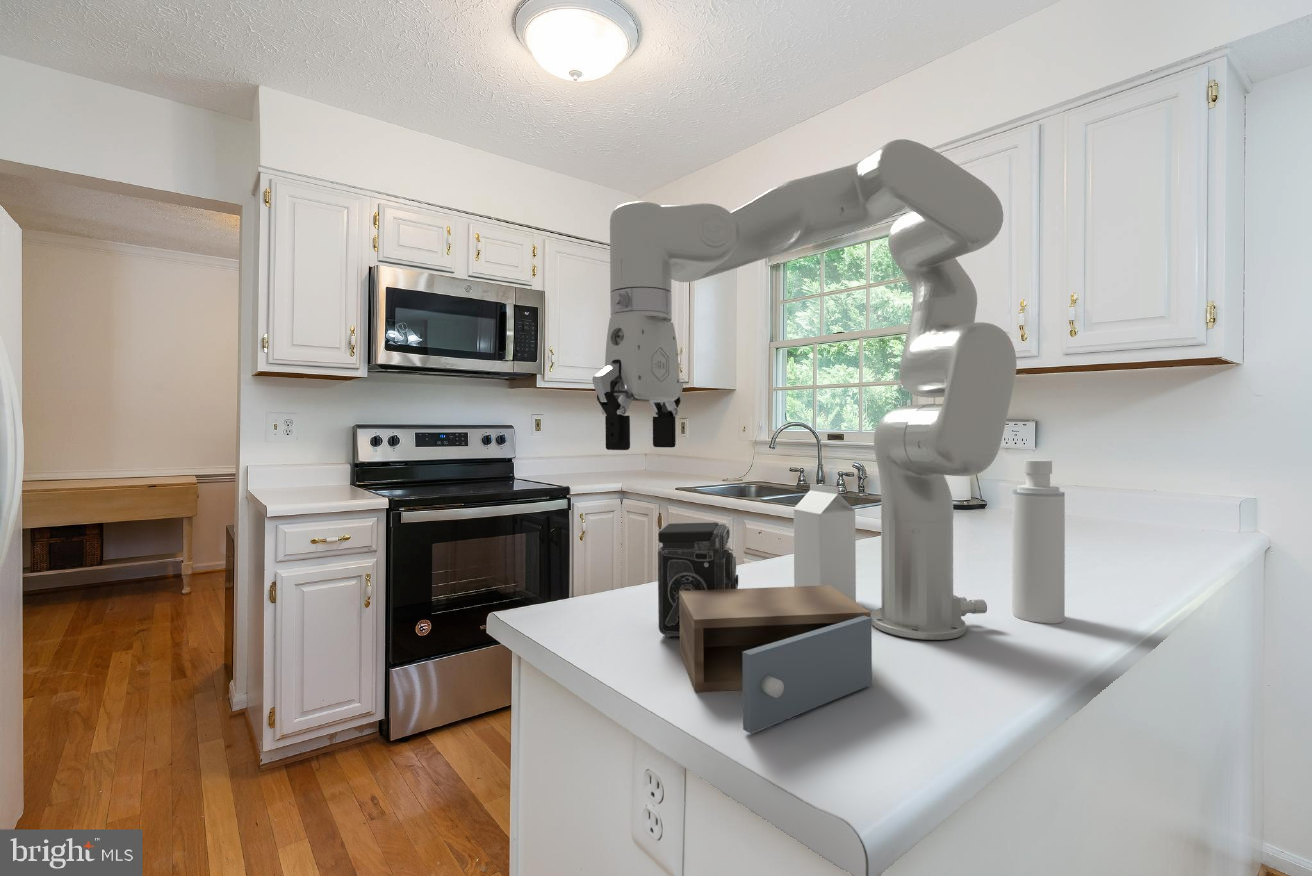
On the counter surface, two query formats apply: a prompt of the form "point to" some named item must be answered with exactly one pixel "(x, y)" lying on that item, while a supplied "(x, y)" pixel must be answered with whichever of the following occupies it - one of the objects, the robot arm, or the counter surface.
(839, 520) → the milk carton
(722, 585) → the camera
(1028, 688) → the counter surface
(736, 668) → the cabinet
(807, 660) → the side door
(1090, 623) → the counter surface
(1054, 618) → the spray bottle
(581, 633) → the counter surface
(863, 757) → the counter surface
